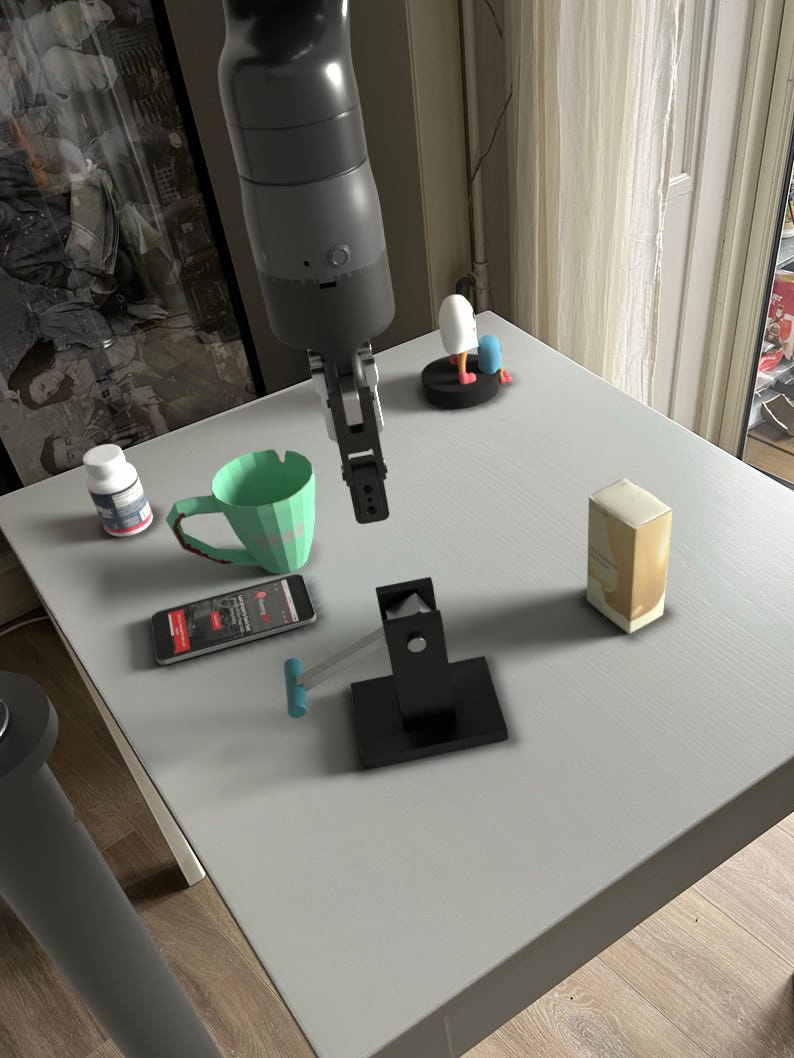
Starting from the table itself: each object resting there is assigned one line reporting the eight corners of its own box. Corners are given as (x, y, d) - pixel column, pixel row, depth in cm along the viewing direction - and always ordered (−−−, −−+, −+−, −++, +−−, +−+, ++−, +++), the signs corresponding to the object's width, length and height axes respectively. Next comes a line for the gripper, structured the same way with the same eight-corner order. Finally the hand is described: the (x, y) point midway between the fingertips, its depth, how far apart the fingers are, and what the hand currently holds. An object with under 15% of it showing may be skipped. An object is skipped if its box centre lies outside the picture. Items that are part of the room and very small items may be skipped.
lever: (299, 724, 77) (280, 708, 75) (294, 676, 81) (276, 659, 79) (440, 643, 74) (423, 624, 73) (428, 597, 78) (412, 578, 77)
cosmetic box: (585, 601, 92) (583, 493, 84) (620, 581, 94) (622, 474, 85) (631, 637, 88) (634, 528, 80) (667, 616, 90) (674, 507, 81)
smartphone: (149, 613, 95) (301, 572, 98) (151, 619, 95) (303, 577, 98) (156, 662, 90) (316, 617, 92) (158, 668, 90) (318, 623, 93)
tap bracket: (364, 770, 80) (335, 658, 71) (352, 692, 86) (324, 580, 77) (508, 739, 81) (497, 625, 72) (485, 664, 87) (473, 551, 78)
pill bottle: (96, 524, 108) (67, 455, 102) (139, 503, 110) (112, 434, 104) (119, 544, 105) (89, 474, 99) (162, 522, 107) (136, 452, 101)
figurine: (520, 397, 120) (514, 303, 112) (431, 415, 119) (419, 321, 111) (501, 362, 127) (494, 271, 119) (417, 378, 126) (404, 287, 117)
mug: (319, 519, 105) (300, 438, 98) (343, 572, 98) (324, 489, 91) (183, 558, 102) (153, 478, 95) (198, 616, 95) (167, 533, 88)
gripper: (249, 212, 61) (302, 439, 72) (258, 309, 50) (319, 556, 62) (369, 194, 61) (403, 421, 73) (402, 285, 51) (437, 534, 62)
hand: (365, 483), depth 67 cm, fingers open, 8 cm apart
